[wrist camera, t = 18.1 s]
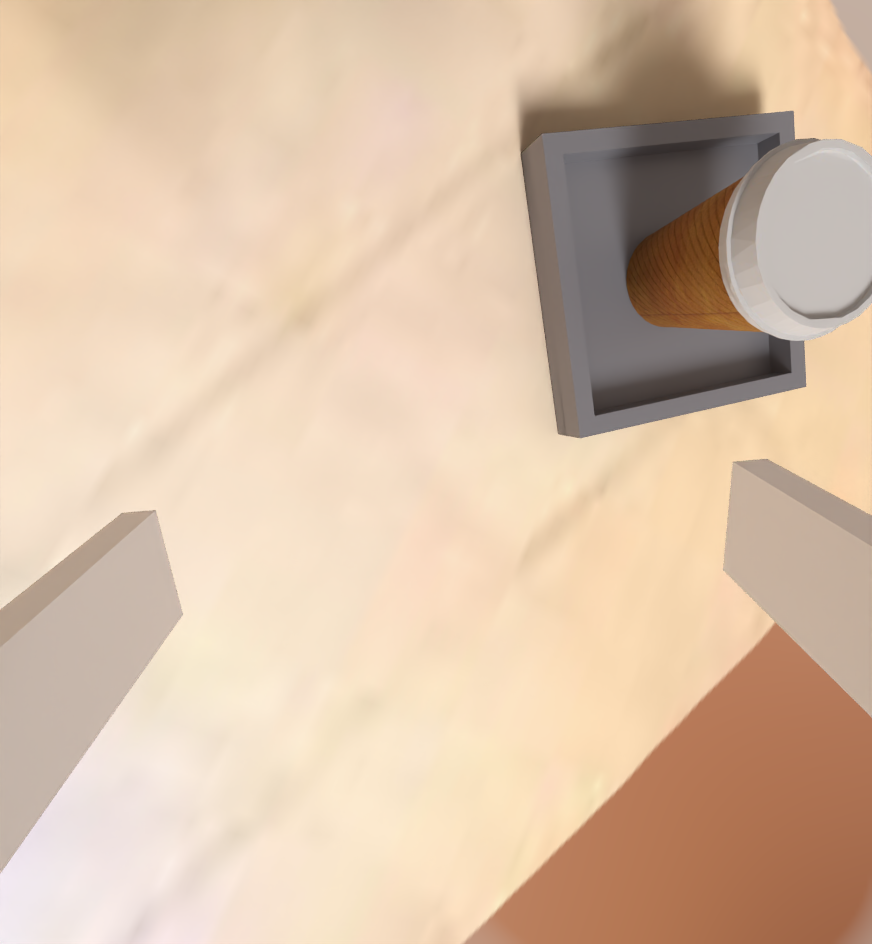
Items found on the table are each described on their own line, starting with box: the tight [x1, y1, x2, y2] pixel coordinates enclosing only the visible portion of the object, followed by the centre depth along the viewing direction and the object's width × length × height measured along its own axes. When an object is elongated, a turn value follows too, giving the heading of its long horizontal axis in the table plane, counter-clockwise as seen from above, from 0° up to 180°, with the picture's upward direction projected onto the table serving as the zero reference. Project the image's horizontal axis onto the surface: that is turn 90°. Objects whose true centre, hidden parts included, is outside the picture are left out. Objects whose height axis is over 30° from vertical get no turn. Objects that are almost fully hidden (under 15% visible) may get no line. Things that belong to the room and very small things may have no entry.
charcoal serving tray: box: [521, 111, 806, 438], centre depth 38 cm, size 18×18×3 cm
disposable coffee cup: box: [626, 138, 872, 341], centre depth 33 cm, size 10×10×12 cm
